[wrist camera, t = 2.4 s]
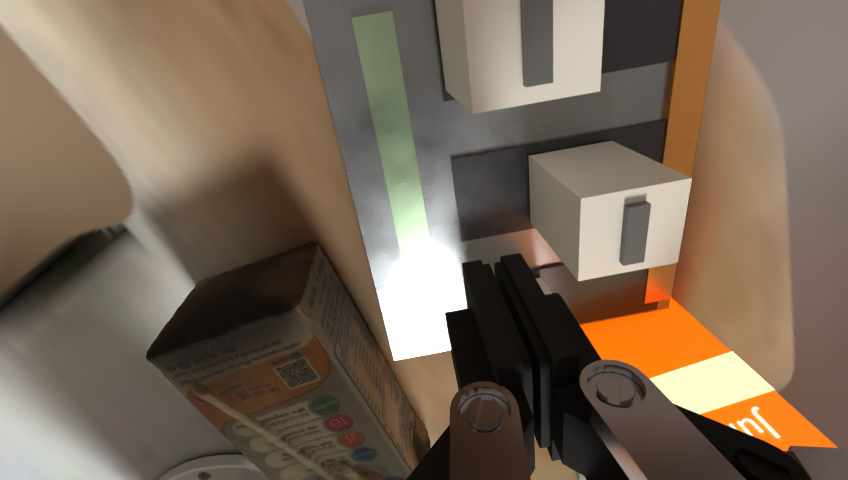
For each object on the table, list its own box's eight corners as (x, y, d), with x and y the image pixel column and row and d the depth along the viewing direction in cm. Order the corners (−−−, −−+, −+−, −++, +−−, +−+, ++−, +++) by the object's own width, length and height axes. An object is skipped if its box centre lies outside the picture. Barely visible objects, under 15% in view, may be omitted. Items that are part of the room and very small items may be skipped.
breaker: (537, 74, 17) (605, 92, 12) (445, 90, 17) (475, 115, 12) (535, -22, 16) (613, -47, 11) (434, -5, 16) (462, -22, 10)
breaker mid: (607, 208, 21) (683, 266, 16) (530, 222, 21) (581, 285, 15) (611, 140, 19) (698, 180, 14) (528, 155, 19) (584, 201, 14)
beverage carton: (337, 467, 32) (328, 565, 26) (188, 278, 23) (123, 362, 17) (432, 435, 31) (444, 528, 25) (316, 228, 22) (295, 298, 17)
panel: (649, 289, 26) (671, 311, 24) (392, 338, 26) (394, 364, 24) (697, -67, 18) (738, -80, 16) (309, -1, 17) (300, -5, 15)
